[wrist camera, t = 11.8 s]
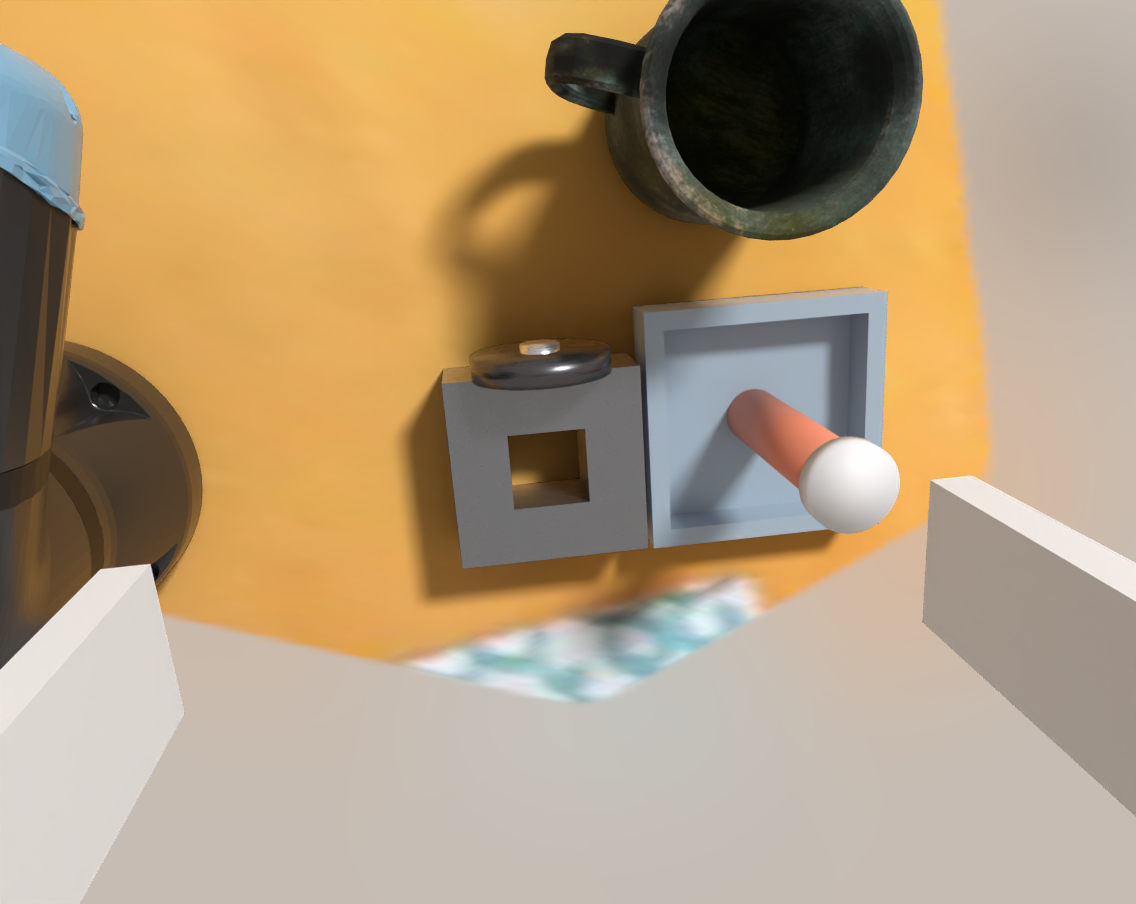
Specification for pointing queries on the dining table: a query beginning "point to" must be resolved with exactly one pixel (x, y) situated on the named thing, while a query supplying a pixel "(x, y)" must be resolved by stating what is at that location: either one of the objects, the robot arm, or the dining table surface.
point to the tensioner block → (537, 405)
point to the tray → (731, 366)
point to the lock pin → (818, 462)
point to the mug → (753, 108)
